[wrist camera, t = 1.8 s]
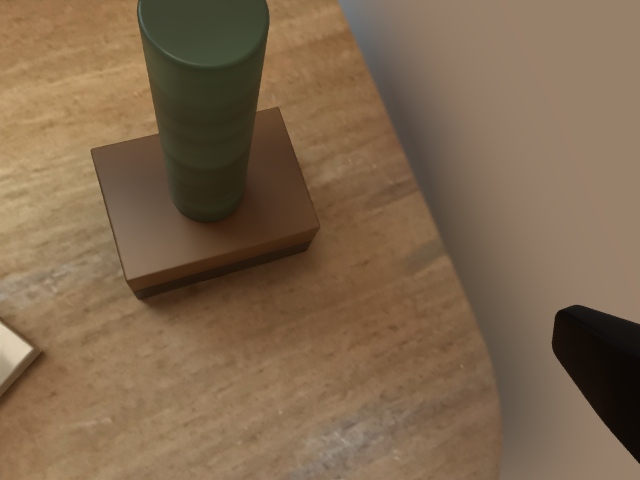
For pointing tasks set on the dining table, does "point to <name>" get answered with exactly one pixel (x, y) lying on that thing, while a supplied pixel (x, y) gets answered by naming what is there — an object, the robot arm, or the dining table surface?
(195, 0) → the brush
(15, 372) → the tile
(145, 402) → the dining table surface
